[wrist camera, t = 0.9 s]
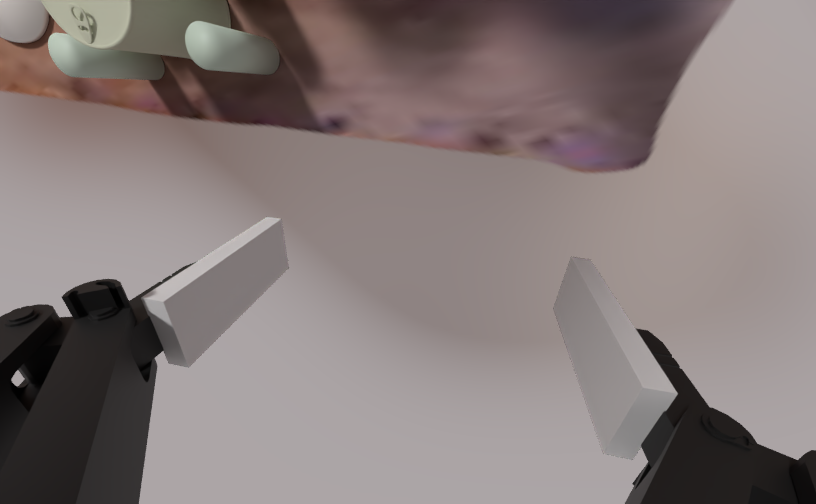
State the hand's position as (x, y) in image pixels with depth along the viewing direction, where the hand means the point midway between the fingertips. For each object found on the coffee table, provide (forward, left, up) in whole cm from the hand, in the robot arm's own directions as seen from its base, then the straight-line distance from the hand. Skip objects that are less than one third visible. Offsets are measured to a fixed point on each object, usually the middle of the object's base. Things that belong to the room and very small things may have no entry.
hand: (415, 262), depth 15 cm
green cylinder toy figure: (-23, -23, -25) cm, 41 cm away
